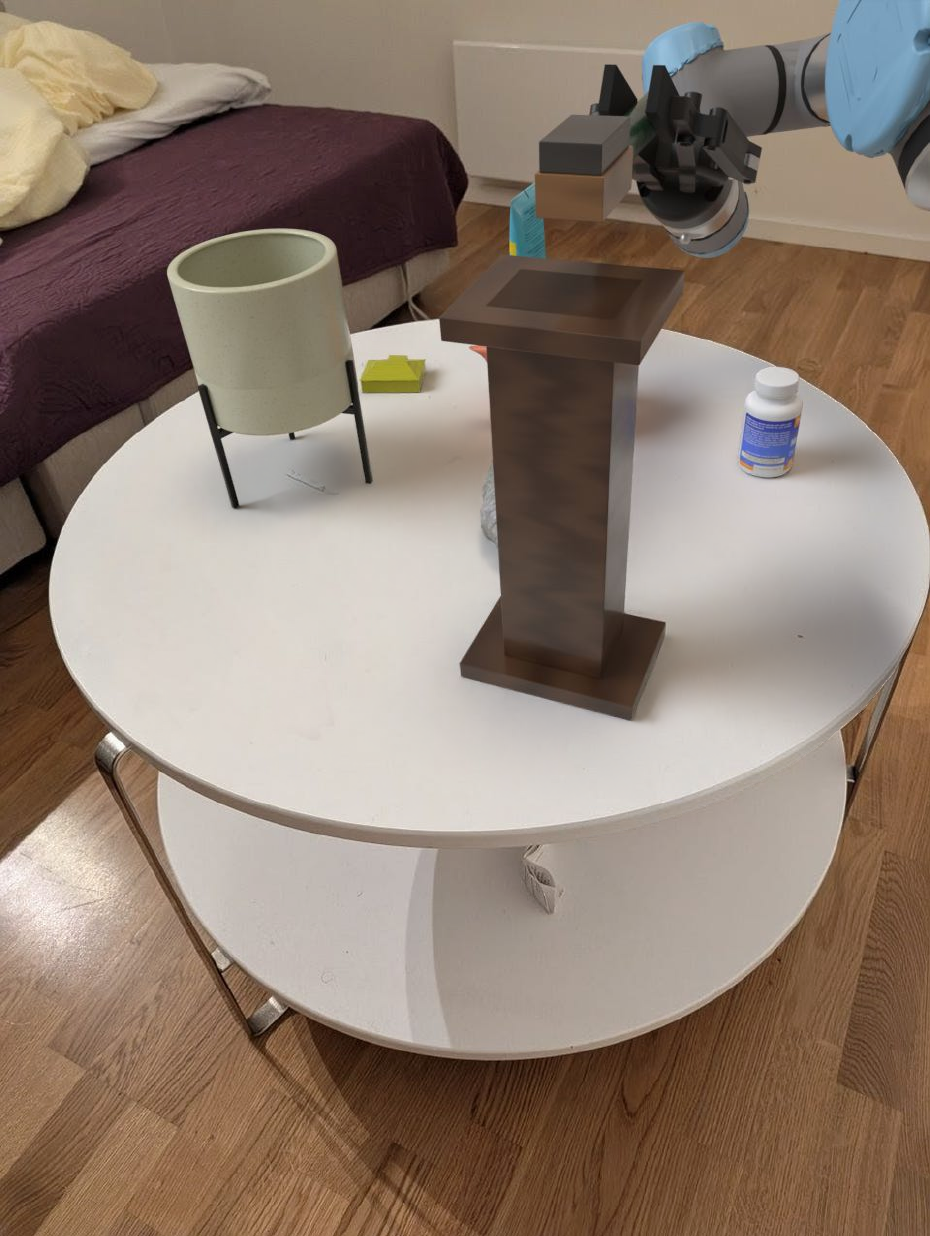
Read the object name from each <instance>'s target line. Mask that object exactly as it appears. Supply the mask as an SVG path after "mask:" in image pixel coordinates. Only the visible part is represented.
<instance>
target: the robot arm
mask: <svg viewBox="0 0 930 1236" xmlns="http://www.w3.org/2000/svg"><path fill="white" fill-rule="evenodd" d="M724 47H725V45H724V41H723V40H722V38H721V34H720V31H719V29H718V28H717V27H716V26H715V25H714V24H711V23H704V22H703V21H694V22H688V23H684V24H681V25H677V26H675V27H673V28H670V29H668V30H666V31H664V32H663V33H660V34H659V35H658V36H657V37H655V39H653V40H652V41H651V42H650V43H649V45H648V46H647V48H646V49H645V51H644V52H643V55H642V57H641V81H642V89H643V96H644V95H645V94H646V93H647V92H648V91H649V92H648V98H647V104H646V110H645V113H646V115H647V117H648V118H649V120H650V122H651V123H652V125H653V126H654V128H655V129H656V131H657V134H656V135H655V136H654V137H653V138H652V140H651V141H650V142H649V143H648V144H647V145H646V146H645V147H644V148H643V149H642V151H641V152H640V153H639V154H638V155H637V156H636V157H635V158H634V159H633V165H632V181H635V183H636V187H637V191H638V195H639V198H640V200H641V202H642V203H643V205H644V206H645V208H646V209H647V210H648V212H649V213H650V214H651V215H652V217H654V218H655V219H656V220H657V221H658V222H659V223H660V225H661V226H662V227H663V228H664V229H665V231H666V233H667V234H668V235H669V237H670V239H672V241H673V243H674V244H675V245H676V247H677V248H679V249H680V250H681V251H682V252H684V253H686V254H689V255H691V256H693V257H697V258H701V259H710V258H717V257H719V256H721V255H723V254H725V253H727V252H729V251H730V250H731V249H733V248H734V247H735V246H736V245H738V243H739V242H740V241H741V239H742V237H743V235H744V234H745V232H746V230H747V227H748V223H749V215H750V203H749V197H748V194H747V192H746V191H745V190H744V185H751V184H755V183H756V181H757V175H758V171H759V167H760V162H761V156H762V150H763V147H761V146H760V145H758V144H757V143H754V142H752V141H750V140H749V139H748V138H750V137H755V136H763V135H768V134H775V133H784V132H791V131H798V130H805V129H814V128H822V127H823V128H826V127H831V130H832V133H833V134H834V137H835V139H836V141H837V142H838V143H839V145H841V147H843V148H844V149H845V150H846V151H847V152H851V153H855V154H857V155H858V156H864V157H866V158H869V159H874V158H879V157H882V156H885V155H886V154H888V155H890V156H891V158H892V160H893V162H894V164H895V167H896V170H897V173H898V175H899V177H900V181H901V183H902V186H903V188H904V191H905V195H906V197H907V199H908V200H909V202H910V204H911V205H913V206H914V207H915V208H917V209H919V210H921V211H926V212H930V0H838V3H837V7H836V10H835V13H834V17H833V20H832V26H831V30H830V32H828V33H825V34H821V35H818V36H814V37H811V38H805V39H801V40H795V41H788V42H782V43H776V44H766V45H765V44H763V45H755V46H746V47H738V48H733V49H732V48H731V49H724ZM598 99H599V100H598V103H597V102H596V103H592V104H591V105H590V108H589V113H588V115H599V116H623V115H624V114H625V113H626V112H627V111H628V110H629V109H630V108H631V107H632V106H633V105H635V104H636V103H637V102H638V101H639V99H638V97H637V96H636V95H635V93H634V91H633V89H632V88H631V86H630V84H629V82H628V81H627V80H626V78H625V76H624V74H623V73H622V72H621V70H620V68H619V66H618V64H608V63H607V64H604V67H603V74H602V80H601V87H600V93H599V98H598Z"/></svg>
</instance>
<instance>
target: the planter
mask: <svg viewBox="0 0 930 1236" xmlns="http://www.w3.org/2000/svg"><path fill="white" fill-rule="evenodd" d="M166 275H167V279H168V282H169V283H168V284H169V287H170V290H171V293H172V297H173V300H174V304H175V307H176V311H177V314H178V319H179V322H180V325H181V328H182V329H181V330H182V332H183V336H184V339H185V341H186V342H185V343H186V347H187V350H188V353H189V357H190V361H191V363H192V368H193V370H194V374H195V377H196V381H197V384H198V385H197V386H196V387H197V391H198V393H199V394H198V395H199V397H200V401H201V404H202V408H203V411H204V415H205V419H206V422H207V425H208V429H209V432H210V435H211V439H212V442H213V446H214V450H215V454H216V456H217V460H218V464H219V467H220V470H221V473H222V478H223V481H224V484H225V488H226V492H227V495H228V498H229V502H230V505H231V507H232V509H238V508H240V501H239V498H238V495H237V491H236V487H235V485H234V481H233V480H234V479H233V476H232V474H231V473H232V472H231V470H230V466H229V463H228V459H227V456H226V455H227V454H226V452H225V448H224V444H223V442H222V441H223V440H222V439H223V438H225V437H227V436H230V435H231V434H233V433H235V434H240V435H243V436H244V435H245V436H256V437H258V436H259V437H265V436H268V437H269V436H279V435H280V436H281V435H287V434H288V438H289V440H291V441H292V440H295V439H296V435H295V433H296V432H297V433H299V432H302V431H306V430H308V429H312V428H315V427H317V426H320V425H322V424H325V423H327V422H329V421H331V420H332V419H334V418H337V417H338V416H340V415H341V414H344V415H345V414H346V415H353V417H354V422H355V429H356V434H357V441H358V447H359V454H360V459H361V465H362V470H363V471H362V472H363V477H364V482H365V484H368V485H371V484H372V483H373V481H374V480H373V475H372V468H371V461H370V456H369V455H370V454H369V448H368V443H367V442H368V441H367V436H366V431H365V424H364V417H363V411H362V405H361V399H360V392H359V381H358V374H357V368H356V362H355V361H356V360H355V355H354V349H353V342H352V337H351V331H350V325H349V324H350V323H349V318H348V312H347V305H346V300H345V293H344V287H343V281H342V275H341V267H340V261H339V255H338V249H337V246H336V244H335V242H334V241H333V240H332V239H331V238H329V237H327V236H326V235H323V234H321V233H318V232H315V231H311V230H306V229H298V228H264V229H254V230H253V229H252V230H246V231H239V232H234V233H230V234H226V235H222V236H218V237H215V238H211V239H208V240H206V241H203V242H200V243H198V244H196V245H193V246H191V247H189V248H188V249H186V250H184V251H183V252H181V253H180V254H178V255H176V256H175V257H174V258H173V260H171V262H170V263H169V264H168V266H167V269H166Z"/></svg>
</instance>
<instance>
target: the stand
mask: <svg viewBox="0 0 930 1236" xmlns="http://www.w3.org/2000/svg"><path fill="white" fill-rule="evenodd" d="M685 273H686V271H685V270H682V269H672V268H658V267H647V266H638V265H637V266H636V265H625V264H614V263H613V264H612V263H601V262H591V261H590V262H589V261H579V260H566V259H556V258H547V257H546V258H535V257H523V256H512V255H510V254H501V255H500V256H499V257H498V258H497V259H496V261H494V262H493V263H492V264H491V265H490V266H489V267H488V268H487V269H486V270H485V271H484V272H483V273H482V274H481V275H480V276H479V277H477V279H476V280H475V281H474V282H473V283H472V284H471V285H470V286H469V287H468V288H467V289H466V290H465V291H464V292H463V293H461V295H460V296H459V297H458V298H457V299H456V300H455V301H454V302H453V303H452V304H450V306H449V307H448V308H447V309H446V310H445V311H444V312H443V313H442V314H441V315H440V316H439V317H438V321H439V322H438V323H439V331H440V341H441V342H445V343H455V344H462V345H463V344H464V345H469V346H476V345H478V346H486V350H487V362H486V366H487V382H488V383H487V384H488V398H489V399H488V400H489V401H488V403H489V417H490V435H491V451H492V461H493V471H494V488H495V505H496V522H497V540H498V548H497V555H498V572H499V589H500V590H499V591H500V596H499V597H498V599H497V601H496V603H495V604H494V606H493V607H492V610H491V611H490V613H489V614H488V616H487V618H486V619H485V620H484V623H483V624H482V625H481V628H480V629H479V631H478V632H477V634H476V636H475V637H474V639H473V641H472V642H471V644H470V646H469V647H468V649H467V650H466V652H465V654H464V656H463V657H462V659H461V660H460V662H459V670H460V677H461V678H465V679H469V680H474V681H478V682H481V683H484V684H488V685H493V686H496V687H500V688H504V689H508V690H512V691H516V692H520V693H524V694H527V695H531V696H534V697H538V698H542V699H547V700H549V701H553V702H558V703H562V704H565V705H570V706H573V707H577V708H580V709H585V710H588V711H593V712H597V713H599V714H600V713H601V714H604V715H608V716H611V717H616V718H619V719H624V720H627V721H632V720H633V718H634V716H635V713H636V710H637V707H638V705H639V703H640V700H641V697H642V695H643V693H644V689H645V687H646V685H647V682H648V680H649V676H650V674H651V672H652V670H653V666H654V664H655V661H656V660H657V657H658V654H659V652H660V649H661V646H662V644H663V642H664V639H665V635H666V627H667V622H666V621H662V620H657V619H653V618H648V617H644V616H639V615H635V614H630V613H626V612H625V604H626V603H625V602H626V589H627V588H626V587H627V573H628V572H627V571H628V568H627V567H628V555H629V553H628V552H629V538H630V537H629V535H630V521H631V520H630V519H631V502H632V489H633V488H632V486H633V471H634V453H635V452H634V450H635V435H636V434H635V433H636V419H637V402H638V387H639V385H638V384H639V368H640V365H641V364H642V362H643V360H644V358H645V357H646V356H647V354H648V352H649V351H650V349H651V347H652V345H653V344H654V342H655V340H656V339H657V337H658V335H659V334H660V332H661V330H662V329H663V328H664V326H665V324H666V323H667V321H668V319H669V318H670V316H671V314H672V313H673V312H674V309H675V308H676V306H677V304H678V303H679V301H680V299H681V297H682V296H683V294H684V285H685Z"/></svg>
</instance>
